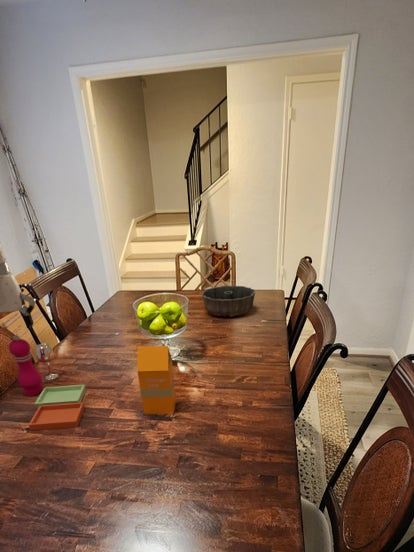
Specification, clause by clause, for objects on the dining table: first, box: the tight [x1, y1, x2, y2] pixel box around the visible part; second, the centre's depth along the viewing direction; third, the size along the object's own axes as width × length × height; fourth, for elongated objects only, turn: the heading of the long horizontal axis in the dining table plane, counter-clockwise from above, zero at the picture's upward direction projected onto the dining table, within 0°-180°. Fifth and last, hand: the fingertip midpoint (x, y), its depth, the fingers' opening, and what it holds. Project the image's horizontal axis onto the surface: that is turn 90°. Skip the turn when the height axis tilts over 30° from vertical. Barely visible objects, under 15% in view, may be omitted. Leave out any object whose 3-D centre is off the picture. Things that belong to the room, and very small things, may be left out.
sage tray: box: [34, 384, 87, 410], centre depth 119 cm, size 13×10×2 cm
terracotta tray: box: [28, 401, 86, 431], centre depth 109 cm, size 13×10×2 cm
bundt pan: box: [201, 285, 256, 318], centre depth 183 cm, size 26×26×10 cm
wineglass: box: [34, 342, 59, 381], centre depth 130 cm, size 6×6×12 cm
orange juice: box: [136, 345, 177, 415], centre depth 107 cm, size 8×9×20 cm
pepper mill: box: [8, 334, 45, 397], centre depth 119 cm, size 7×7×20 cm
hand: (14, 328), depth 113 cm, fingers open, 9 cm apart
